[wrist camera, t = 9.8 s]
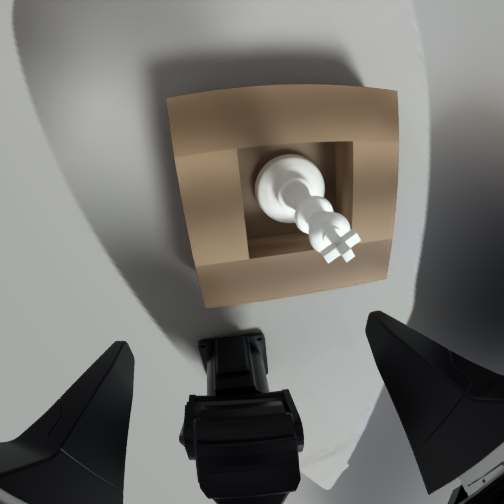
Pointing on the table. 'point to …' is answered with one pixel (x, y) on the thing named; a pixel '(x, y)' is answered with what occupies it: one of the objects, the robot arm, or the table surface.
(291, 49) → the table surface
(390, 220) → the tan wooden square block
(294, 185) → the chess piece
